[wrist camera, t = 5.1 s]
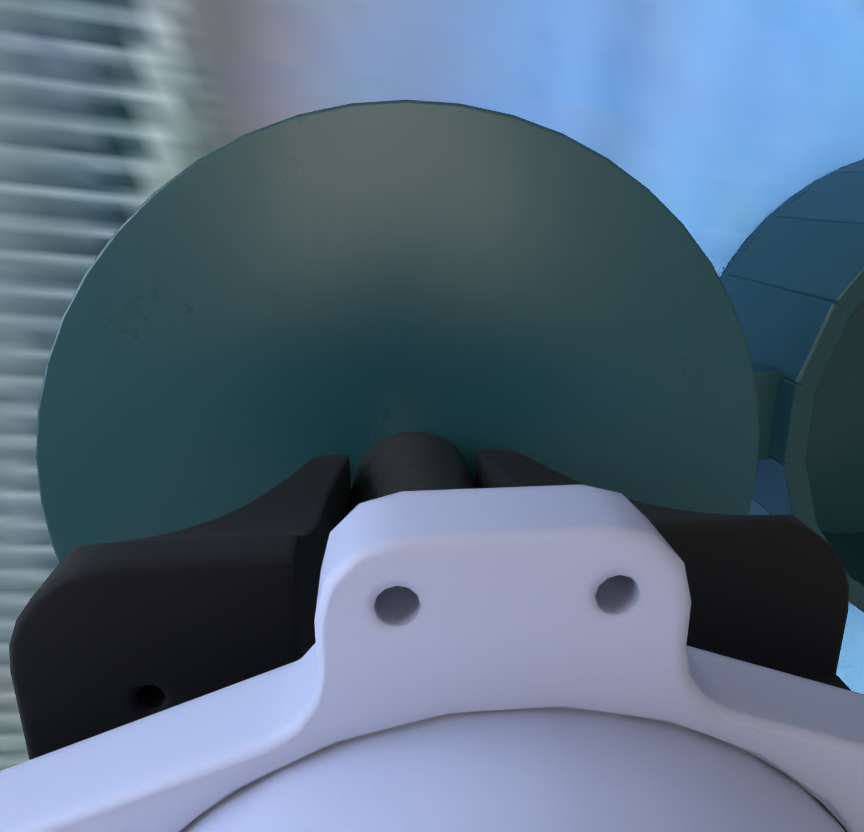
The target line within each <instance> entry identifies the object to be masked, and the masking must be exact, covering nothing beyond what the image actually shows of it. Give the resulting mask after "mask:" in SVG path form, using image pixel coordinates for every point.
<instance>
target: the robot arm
mask: <svg viewBox="0 0 864 832" xmlns="http://www.w3.org/2000/svg"><path fill="white" fill-rule="evenodd" d="M476 486H477V489H451V490H425V491H401V492H397V493H394V494H390V495H387V496H383V497H380V498H376V499H373V500H369V501H366V502H363V503H359V504H358V505H357V506H356V507H355V508H354V509H353V510H352V511H351V512H350V513H349V511H350V494H351V488H350V465H349V455H335V456H316V457H314V458H312V459H311V460H310V461H308V462H307V463H306V464H305V465H303V466H302V467H301V468H300V469H298V470H297V471H296V472H294V473H293V474H292V475H291V476H289V477H288V478H287V479H285V480H284V481H283V482H281V483H280V484H278V485H277V486H275V487H274V488H272V489H271V490H269V491H268V492H266V493H265V494H263V495H262V496H260V497H259V498H257V499H255V500H254V501H252V502H250V503H248V504H246V505H245V506H243V507H241V508H239V509H236V510H234V511H232V512H230V513H228V514H226V515H223V516H221V517H218V518H216V519H213V520H210V521H207V522H204V523H201V524H198V525H195V526H192V527H189V528H186V529H183V530H179V531H175V532H171V533H167V534H163V535H158V536H153V537H147V538H142V539H136V540H130V541H122V542H112V543H101V544H89V545H79V546H74V547H73V548H72V549H71V550H70V552H69V553H68V554H67V555H66V556H65V557H64V559H63V560H62V561H61V562H60V563H59V565H58V566H57V567H56V568H55V569H54V571H53V572H52V573H51V574H50V576H49V577H48V578H47V579H46V581H45V582H44V583H43V584H42V586H41V587H40V588H39V589H38V591H37V592H36V593H35V594H34V595H33V597H32V598H31V599H30V601H29V602H28V604H27V605H26V607H25V608H24V610H23V611H22V613H21V614H20V616H19V617H18V619H17V620H16V623H15V627H14V630H13V634H12V638H11V641H10V645H9V651H10V670H11V676H12V681H13V685H14V690H15V694H16V699H17V704H18V708H19V713H20V718H21V722H22V727H23V731H24V736H25V741H26V745H27V750H28V755H29V759H30V760H29V761H26V762H23V763H21V764H18V765H15V766H12V767H10V768H7V769H4V770H2V771H0V832H864V694H860V693H857V692H853V691H851V690H850V689H849V688H848V687H847V686H846V685H845V683H844V682H843V681H842V680H841V679H840V678H839V677H838V676H837V675H836V670H837V665H838V660H839V655H840V650H841V644H842V639H843V634H844V629H845V624H846V619H847V613H848V603H849V583H848V579H847V576H846V572H845V568H844V564H843V563H842V561H841V560H840V558H839V557H838V555H837V554H836V552H835V551H834V549H833V548H832V546H831V545H830V544H829V543H828V542H826V541H825V540H824V539H823V538H821V537H820V536H819V535H818V534H816V533H815V532H814V531H813V530H812V529H810V528H809V527H808V526H807V525H805V524H804V523H803V522H802V521H800V520H799V519H798V518H797V517H796V516H794V515H728V514H716V513H704V512H694V511H686V510H679V509H673V508H668V507H662V506H657V505H651V504H647V503H642V502H638V501H634V500H630V499H627V498H626V497H625V496H624V495H623V494H622V493H619V492H614V491H610V490H605V489H600V488H596V487H591V486H588V485H586V484H583V483H581V482H578V481H576V480H573V479H571V478H569V477H567V476H565V475H562V474H560V473H558V472H556V471H554V470H552V469H550V468H548V467H546V466H544V465H542V464H540V463H538V462H536V461H534V460H532V459H530V458H528V457H526V456H524V455H522V454H520V453H518V452H515V451H513V450H480V451H476Z"/></svg>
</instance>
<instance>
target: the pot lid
mask: <svg viewBox="0 0 864 832" xmlns="http://www.w3.org/2000/svg"><path fill="white" fill-rule="evenodd" d="M759 438H760V428H759V412H758V396H757V387H756V382H755V377H754V372H753V367H752V363H751V358H750V353H749V348H748V344H747V342H746V339H745V336H744V333H743V330H742V328H741V325H740V322H739V319H738V317H737V314H736V311H735V308H734V305H733V303H732V301H731V299H730V297H729V295H728V293H727V291H726V290H725V288H724V286H723V284H722V282H721V280H720V278H719V276H718V275H717V273H716V271H715V269H714V267H713V265H712V263H711V262H710V260H709V259H708V258H707V256H706V255H705V253H704V252H703V251H702V249H701V248H700V247H699V245H698V244H697V243H696V241H695V240H694V238H693V237H692V236H691V234H690V233H689V232H688V230H687V229H686V228H685V226H684V225H683V224H682V223H681V222H680V221H679V220H678V219H677V217H676V216H675V215H674V214H673V213H672V212H671V211H670V210H669V209H668V208H667V207H666V206H665V205H664V204H663V203H662V202H661V201H660V200H659V199H658V198H657V197H656V196H655V195H654V194H653V193H652V192H651V191H650V190H649V189H648V188H646V187H645V186H644V185H642V184H641V183H640V182H638V181H637V180H636V179H634V178H633V177H632V176H631V175H629V174H628V173H627V172H625V171H624V170H623V169H621V168H620V167H619V166H617V165H616V164H615V163H613V162H612V161H611V160H609V159H608V158H606V157H604V156H602V155H601V154H599V153H597V152H595V151H593V150H592V149H590V148H588V147H586V146H584V145H582V144H581V143H579V142H577V141H575V140H573V139H571V138H570V137H568V136H566V135H564V134H562V133H559V132H557V131H554V130H551V129H549V128H546V127H543V126H541V125H538V124H535V123H533V122H530V121H527V120H525V119H522V118H519V117H517V116H514V115H510V114H505V113H501V112H496V111H492V110H487V109H483V108H478V107H473V106H469V105H464V104H458V103H444V102H430V101H417V100H395V101H381V102H366V103H351V104H347V105H342V106H337V107H333V108H328V109H323V110H319V111H314V112H309V113H305V114H300V115H296V116H293V117H291V118H288V119H285V120H283V121H280V122H277V123H274V124H272V125H269V126H266V127H264V128H261V129H258V130H255V131H253V132H250V133H247V134H245V135H243V136H241V137H239V138H237V139H236V140H234V141H232V142H230V143H228V144H226V145H225V146H223V147H221V148H219V149H217V150H215V151H214V152H212V153H210V154H208V155H206V156H204V157H202V158H201V159H199V160H197V161H196V162H194V163H193V164H192V165H190V166H189V167H188V168H186V169H185V170H184V171H182V172H181V173H180V174H178V175H177V176H176V177H174V178H173V179H172V180H170V181H169V182H168V183H166V184H165V185H164V186H162V187H161V188H160V189H158V190H157V191H156V192H154V193H153V194H152V195H151V196H150V197H149V198H148V199H147V200H146V201H145V202H144V203H143V204H142V205H141V206H140V207H139V208H138V209H137V210H136V211H135V212H134V213H133V214H132V215H131V216H130V217H129V218H128V219H127V220H126V221H125V223H124V224H123V225H122V226H121V227H120V228H119V229H118V230H117V231H116V232H115V233H114V235H113V236H112V238H111V239H110V240H109V242H108V243H107V244H106V246H105V247H104V248H103V250H102V251H101V253H100V254H99V255H98V257H97V258H96V259H95V261H94V262H93V263H92V265H91V266H90V267H89V269H88V270H87V272H86V273H85V275H84V277H83V279H82V281H81V283H80V285H79V287H78V289H77V291H76V292H75V294H74V296H73V298H72V300H71V302H70V304H69V306H68V308H67V309H66V311H65V313H64V315H63V318H62V320H61V323H60V326H59V329H58V332H57V335H56V338H55V341H54V343H53V346H52V349H51V352H50V355H49V358H48V361H47V364H46V370H45V375H44V380H43V386H42V391H41V396H40V402H39V407H38V423H37V451H36V459H37V468H38V477H39V486H40V495H41V503H42V507H43V511H44V515H45V519H46V523H47V526H48V530H49V534H50V538H51V542H52V546H53V548H54V551H55V553H56V555H57V558H58V560H59V563H60V562H61V561H62V560H63V559H64V557H65V556H66V555H67V554H68V553H69V552H70V550H71V549H72V548H73V547H74V546H79V545H89V544H101V543H112V542H122V541H130V540H136V539H142V538H147V537H153V536H158V535H163V534H167V533H171V532H175V531H179V530H183V529H186V528H189V527H192V526H195V525H198V524H201V523H204V522H207V521H210V520H213V519H216V518H218V517H221V516H223V515H226V514H228V513H230V512H232V511H234V510H236V509H239V508H241V507H243V506H245V505H246V504H248V503H250V502H252V501H254V500H255V499H257V498H259V497H260V496H262V495H263V494H265V493H266V492H268V491H269V490H271V489H272V488H274V487H275V486H277V485H278V484H280V483H281V482H283V481H284V480H285V479H287V478H288V477H289V476H291V475H292V474H293V473H294V472H296V471H297V470H298V469H300V468H301V467H302V466H303V465H305V464H306V463H307V462H308V461H310V460H311V459H312V458H314V457H316V456H335V455H349V465H350V488H351V494H350V511H349V513H350V512H351V511H352V510H353V509H354V508H355V507H356V506H357V505H358V504H359V503H363V502H366V501H369V500H373V499H376V498H380V497H383V496H387V495H390V494H394V493H397V492H401V491H425V490H451V489H477V486H476V451H480V450H513V451H515V452H518V453H520V454H522V455H524V456H526V457H528V458H530V459H532V460H534V461H536V462H538V463H540V464H542V465H544V466H546V467H548V468H550V469H552V470H554V471H556V472H558V473H560V474H562V475H565V476H567V477H569V478H571V479H573V480H576V481H578V482H581V483H583V484H586V485H588V486H591V487H596V488H600V489H605V490H610V491H614V492H619V493H622V494H623V495H624V496H625V497H626V498H627V499H630V500H634V501H638V502H642V503H647V504H651V505H657V506H662V507H668V508H673V509H679V510H686V511H694V512H704V513H716V514H728V515H749V510H750V505H751V501H752V496H753V491H754V486H755V481H756V477H757V465H758V451H759Z"/></svg>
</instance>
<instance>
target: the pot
mask: <svg viewBox="0 0 864 832" xmlns="http://www.w3.org/2000/svg"><path fill="white" fill-rule="evenodd" d="M720 280H721V282H722V284H723V286H724V288H725V290H726V291H727V293H728V295H729V297H730V299H731V301H732V303H733V305H734V308H735V311H736V314H737V317H738V319H739V322H740V325H741V328H742V330H743V333H744V336H745V339H746V342H747V344H748V348H749V353H750V358H751V363H752V367H753V372H754V377H755V382H756V387H757V396H758V412H759V428H760V438H759V451H758V465H757V477H756V481H755V486H754V491H753V496H752V501H751V505H750V510H749V515H794V516H796V517H797V518H798V519H799V520H800V521H802V522H803V523H804V524H805V525H807V526H808V527H809V528H810V529H812V530H813V531H814V532H815V533H816V534H818V535H819V536H820V537H821V538H823V539H824V540H825V541H826V542H828V543H829V544H830V545H831V546H832V548H833V549H834V551H835V552H836V554H837V555H838V557H839V558H840V560H841V561H842V563H843V564H844V568H845V572H846V576H847V579H848V583H849V602H850V603H851V604H853V605H854V606H856V607H857V608H858V609H860V610H861V611H863V612H864V159H863V160H861V161H858V162H855V163H852V164H850V165H847V166H844V167H841V168H840V169H838V170H836V171H834V172H832V173H830V174H828V175H826V176H824V177H822V178H820V179H818V180H816V181H814V182H813V183H811V184H810V185H808V186H807V187H805V188H804V189H802V190H801V191H799V192H798V193H796V194H795V195H793V196H792V197H790V198H789V199H788V200H787V201H786V202H785V203H783V204H782V205H781V206H780V207H779V208H778V209H776V210H775V211H774V212H773V213H772V214H771V215H769V216H768V217H767V218H766V219H765V220H764V221H763V222H762V223H761V224H760V226H759V227H758V228H757V229H756V230H755V231H754V232H753V233H752V234H751V235H750V236H749V237H748V238H747V239H746V241H745V242H744V243H743V245H742V246H741V247H740V249H739V250H738V252H737V253H736V254H735V256H734V257H733V258H732V260H731V261H730V262H729V264H728V265H727V267H726V269H725V271H724V272H723V274H722V276H721V277H720Z"/></svg>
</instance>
